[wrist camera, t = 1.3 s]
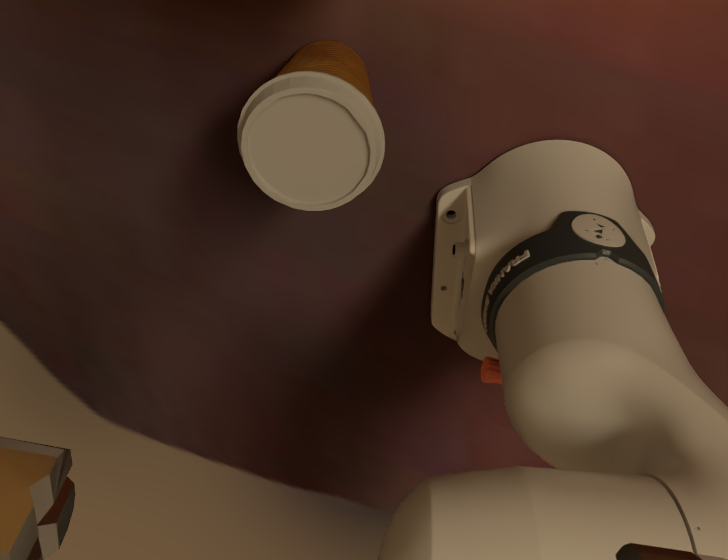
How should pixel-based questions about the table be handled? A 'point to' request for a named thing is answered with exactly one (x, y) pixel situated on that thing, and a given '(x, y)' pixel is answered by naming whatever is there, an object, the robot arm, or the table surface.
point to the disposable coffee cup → (313, 130)
